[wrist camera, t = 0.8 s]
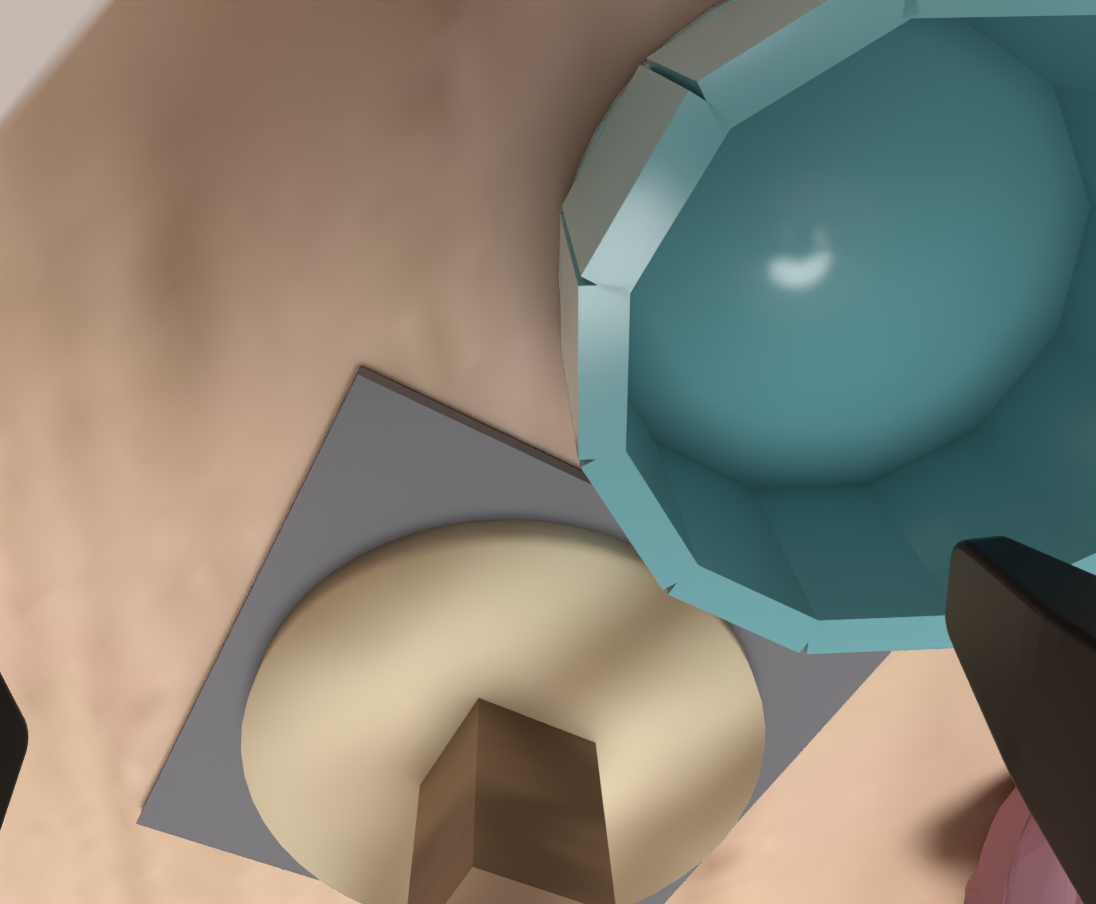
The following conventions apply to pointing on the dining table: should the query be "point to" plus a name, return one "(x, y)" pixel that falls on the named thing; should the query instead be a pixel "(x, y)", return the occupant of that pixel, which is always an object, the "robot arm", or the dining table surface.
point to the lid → (501, 722)
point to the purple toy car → (1018, 863)
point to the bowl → (840, 307)
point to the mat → (397, 511)
